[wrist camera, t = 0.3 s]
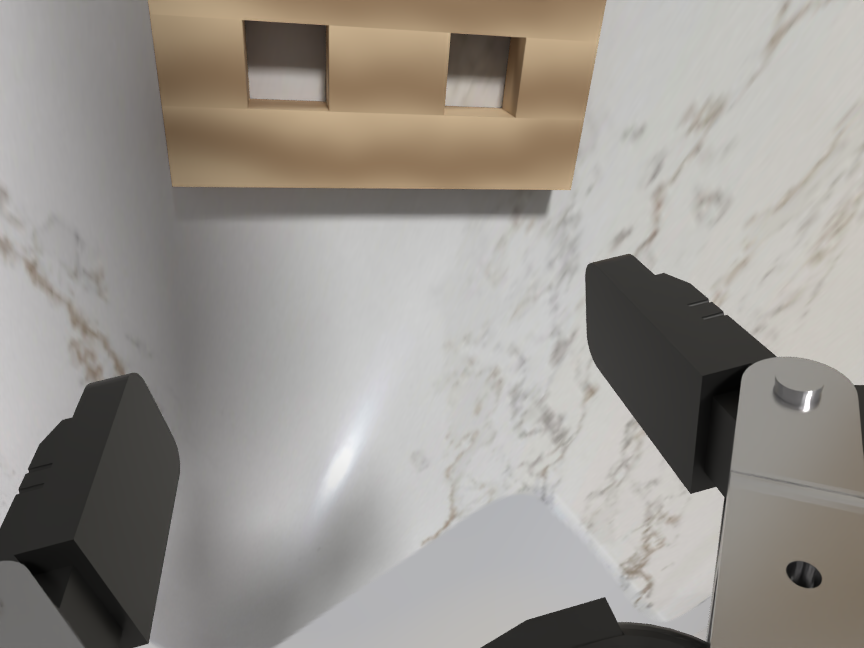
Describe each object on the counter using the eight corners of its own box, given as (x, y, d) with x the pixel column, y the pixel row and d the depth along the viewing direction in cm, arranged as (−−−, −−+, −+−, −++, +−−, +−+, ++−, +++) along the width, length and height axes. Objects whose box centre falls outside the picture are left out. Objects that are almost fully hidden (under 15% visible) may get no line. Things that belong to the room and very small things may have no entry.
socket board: (146, -89, 29) (135, -92, 27) (594, -47, 33) (615, -46, 31) (178, 172, 35) (172, 186, 33) (555, 176, 39) (570, 189, 37)
